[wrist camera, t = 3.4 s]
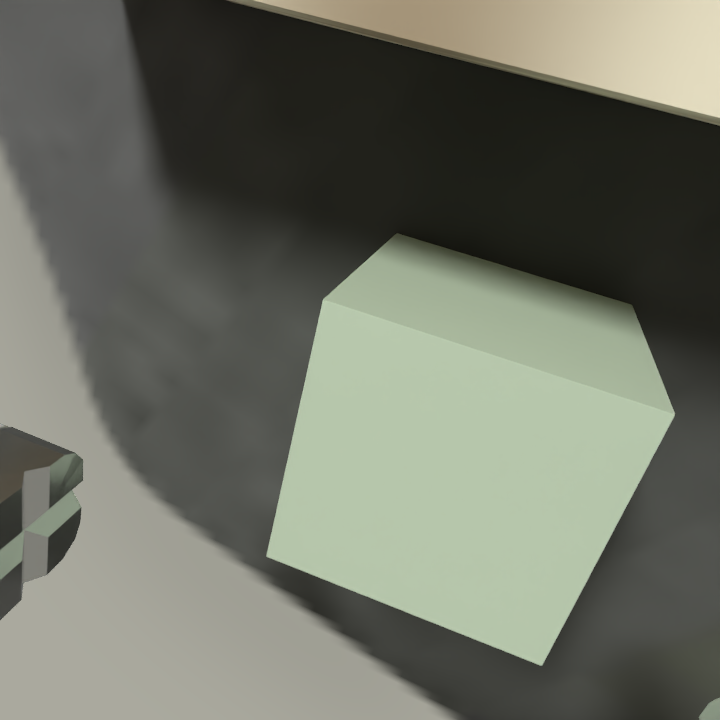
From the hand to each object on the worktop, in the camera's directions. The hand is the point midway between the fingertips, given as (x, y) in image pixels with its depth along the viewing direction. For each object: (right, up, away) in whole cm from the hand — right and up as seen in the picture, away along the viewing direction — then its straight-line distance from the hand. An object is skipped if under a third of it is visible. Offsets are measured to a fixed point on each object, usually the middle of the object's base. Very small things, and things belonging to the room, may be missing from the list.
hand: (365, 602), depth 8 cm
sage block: (+2, +3, +6) cm, 7 cm away
